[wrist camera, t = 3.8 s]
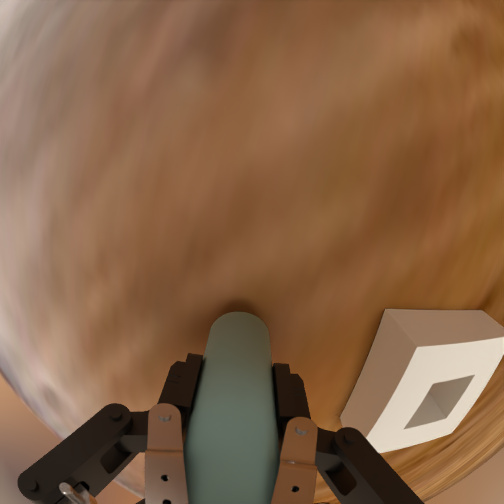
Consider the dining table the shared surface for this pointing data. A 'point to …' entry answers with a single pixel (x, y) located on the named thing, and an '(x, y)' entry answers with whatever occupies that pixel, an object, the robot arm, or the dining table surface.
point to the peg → (233, 417)
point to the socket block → (422, 375)
